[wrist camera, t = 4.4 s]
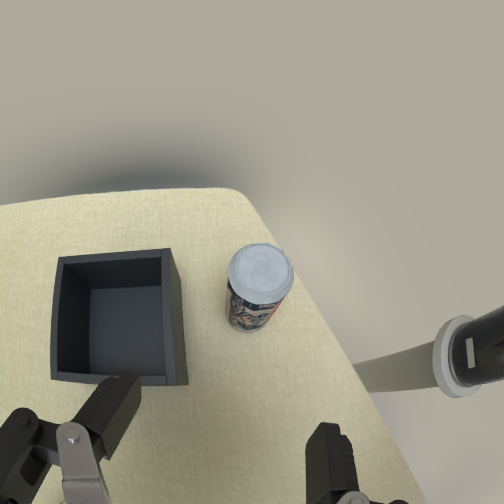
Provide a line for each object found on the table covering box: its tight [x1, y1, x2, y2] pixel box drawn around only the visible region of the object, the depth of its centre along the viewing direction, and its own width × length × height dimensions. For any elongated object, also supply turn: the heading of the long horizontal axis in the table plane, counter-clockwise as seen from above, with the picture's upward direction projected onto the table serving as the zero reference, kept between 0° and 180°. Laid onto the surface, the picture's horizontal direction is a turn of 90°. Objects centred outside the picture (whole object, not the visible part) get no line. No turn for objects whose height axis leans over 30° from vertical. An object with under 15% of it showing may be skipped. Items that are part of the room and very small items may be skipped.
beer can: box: [225, 242, 294, 333], centre depth 25 cm, size 5×5×12 cm
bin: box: [50, 248, 188, 386], centre depth 24 cm, size 12×12×8 cm
